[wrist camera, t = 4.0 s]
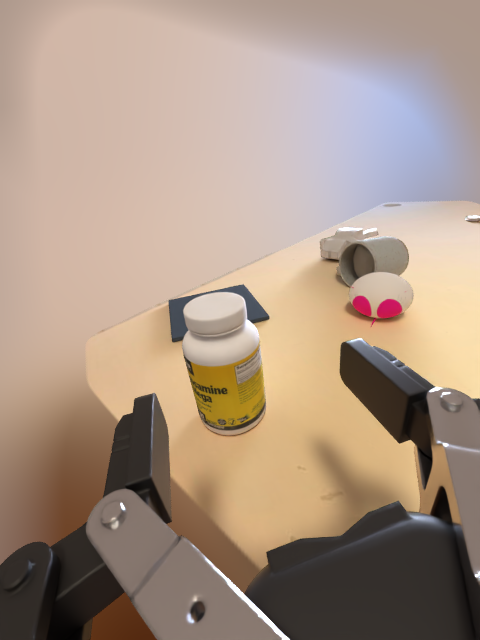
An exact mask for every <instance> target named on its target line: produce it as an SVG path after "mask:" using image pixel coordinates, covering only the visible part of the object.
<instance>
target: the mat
mask: <svg viewBox="0 0 480 640" xmlns="http://www.w3.org/2000/svg"><path fill="white" fill-rule="evenodd" d="M217 292H229V293H235V294H238V295H240V296H242V297H243V298H244V300H245V304H246V310H247V320H249V321H250V322H251V323H255V322H260V321H264V320H268V319H269V315H268V314H267V313H266V312H265V310H264V309H263V308H262V307H261V305H260V304H259V303H258V302H257V300H256V299H255V298H254V297H253V296H252V294H251V293H250V292H249V291H248V289H247V288H246V287H245V286H244V284H243V285H238V286H234V287H229V288H224V289H220V290H215V291H210V292H206V293H201V294H196V295H192V296H187V297H182V298H178V299H173V300H169V311H170V323H171V335H172V341H173V342H176V341H180V340H183V339H184V336H185V334H186V333H187V331H188V328H187V326H186V323H185V318H184V314H183V310H184V307H185V305H186V304H187V303H188V302H190V301H191V300H193V299H195V298H197V297H199V296H202V295H206V294H210V293H217Z"/></svg>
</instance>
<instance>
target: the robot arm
mask: <svg viewBox="0 0 480 640" xmlns="http://www.w3.org/2000/svg"><path fill="white" fill-rule="evenodd" d="M340 375H341V378H342V381H343V382H344V384H345V385H346V386H347V387H348V388H349V389H350V390H351V392H352V393H353V394H354V395H355V396H356V397H357V398H358V399H359V400H360V401H361V402H362V404H363V405H364V406H365V407H366V408H367V409H368V410H369V411H370V412H371V413H372V414H373V416H374V417H375V418H376V419H377V420H378V421H379V422H380V423H381V424H382V425H383V426H384V428H385V429H386V430H387V431H388V432H389V433H390V434H391V435H392V436H393V437H394V438H395V440H396V441H397V442H398V443H399V444H400V443H403V442H405V441H408V440H412V441H413V442H414V443H415V447H414V454H415V462H416V470H417V478H418V485H419V493H420V509H419V512H407V511H406V510H405V509H404V507H403V506H402V505H401V503H400V502H399V501H397V502H394V503H392V504H389V505H386V506H384V507H381V508H379V509H376V510H374V511H371V512H368V513H367V514H366V515H365V516H364V517H362V518H361V519H360V520H359V521H358V522H357V523H356V524H354V525H353V526H352V527H351V528H350V529H349V530H347V531H346V532H345V533H344V534H343V535H341V536H337V537H320V538H303V539H299V540H296V541H294V542H291V543H288V544H286V545H283V546H281V547H278V548H276V549H273V550H270V551H268V552H266V553H267V558H268V565H267V566H266V567H264V568H263V569H262V570H261V571H260V572H259V573H258V574H257V575H256V577H255V578H254V579H253V581H252V582H251V583H250V585H249V586H248V588H247V590H246V592H245V594H243V593H242V592H241V591H240V590H239V589H238V588H237V587H236V586H235V585H234V584H233V583H232V582H231V581H229V579H228V578H226V576H225V575H223V574H222V573H221V572H220V571H219V570H218V569H217V568H216V567H215V566H214V565H213V564H212V563H211V562H210V561H209V560H208V559H207V558H206V557H205V556H204V555H203V554H202V553H201V552H200V551H199V550H198V549H197V548H196V547H195V546H194V545H193V544H192V543H191V542H190V541H189V540H188V539H187V538H185V537H184V536H182V535H181V536H178V535H177V534H175V533H174V532H173V531H172V530H171V529H170V528H169V527H168V526H167V525H166V524H167V523H170V522H172V519H171V518H172V517H171V490H170V463H169V436H168V429H167V424H166V421H165V418H164V415H163V412H162V409H161V407H160V404H159V401H158V398H157V396H156V394H155V393H153V394H149V395H145V396H142V397H138V398H135V400H134V408H133V413H131V414H127V415H124V416H123V417H122V418H121V420H120V422H119V423H118V425H117V427H116V429H115V434H114V440H113V441H114V443H113V446H112V453H111V457H110V462H109V468H108V474H107V480H106V485H105V491H104V495H103V499H102V500H100V501H99V502H98V503H97V505H96V506H95V507H94V509H93V510H92V512H91V513H90V515H89V518H88V521H87V522H86V523H85V524H84V525H83V526H81V527H80V528H79V529H77V530H76V531H74V532H73V533H71V534H70V535H68V536H66V537H65V538H64V539H62V540H60V541H59V542H57V543H56V544H54V545H53V546H51V547H49V546H48V545H47V544H46V543H43V542H33V543H30V544H27V545H25V546H23V547H21V548H20V549H18V550H17V551H15V552H14V553H13V554H12V555H10V556H9V557H8V558H7V559H6V560H5V561H4V562H3V563H2V564H1V565H0V640H90V638H91V629H92V619H93V617H94V616H96V615H97V614H98V613H99V612H100V611H102V610H103V609H104V608H106V607H107V606H108V605H109V604H111V603H112V602H113V601H114V600H115V599H117V598H118V597H119V596H120V595H122V594H123V593H124V592H126V594H127V595H128V597H129V598H130V600H131V602H132V604H133V605H134V606H135V608H136V610H137V611H138V612H139V614H140V615H141V617H142V618H143V620H144V621H145V623H146V624H147V626H148V627H149V628H150V630H151V631H152V633H153V634H154V636H155V637H156V639H157V640H480V399H471V398H470V397H469V396H467V395H466V394H464V393H462V392H460V391H457V390H454V389H450V388H436V387H435V386H433V385H432V384H431V383H429V382H428V381H427V380H425V379H424V378H422V377H421V376H420V375H418V374H417V373H416V372H414V371H413V370H412V369H410V368H409V367H408V366H405V364H404V363H402V362H401V361H400V360H397V358H396V357H394V356H393V355H392V354H390V353H389V352H388V351H385V350H383V349H380V348H378V347H375V346H373V347H372V346H370V345H369V344H368V343H367V342H365V341H364V340H363V339H361V338H357V339H354V340H350V341H346V342H343V343H342V344H341V353H340Z"/></svg>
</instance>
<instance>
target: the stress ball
mask: <svg viewBox="0 0 480 640" xmlns="http://www.w3.org/2000/svg"><path fill="white" fill-rule="evenodd" d="M413 296H414V295H413V289H412V287H411V285H410V284H409V283H408V282H407V281H406V280H405V279H403V278H402V277H400V276H398V275H396V274H392V273H387V272H375V273H370V274H367V275H364V276H362V277H360V278H359V279H357V280H356V281H355V282H354V283H353V285H352V286H351V288H350V291H349V299H350V302H351V304H352V305H353V307H354V308H355V309H356V310H357V311H359V312H360V313H362V314H364V315H366V316H369V317H374V320H373V322H372V324H373V323H374V321H375V320H376V318H389V317H394V316H397V315H399V314H401V313H403V312H404V311H405V310H407V309H408V308H409V306H410V305H411V303H412V301H413ZM371 326H372V325H371Z"/></svg>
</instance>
